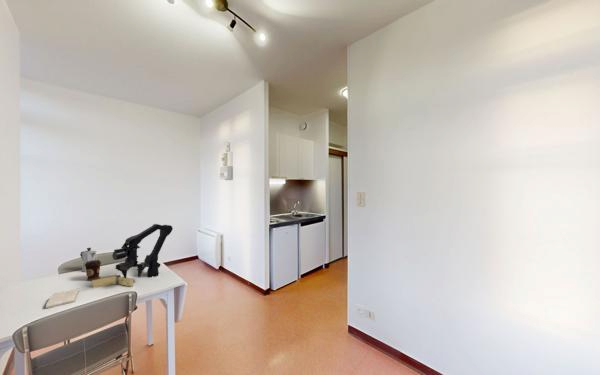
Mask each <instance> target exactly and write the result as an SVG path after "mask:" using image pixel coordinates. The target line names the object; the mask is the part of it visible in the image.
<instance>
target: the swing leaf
mask: <svg viewBox="0 0 600 375" xmlns="http://www.w3.org/2000/svg"><path fill="white" fill-rule="evenodd" d="M116 275H117V276H116V284H115V285H121V286H126V287H134V278H131V277H127V276H126V277H124V276H121V274H116Z"/></svg>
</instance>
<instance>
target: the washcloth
mask: <svg viewBox="0 0 600 375" xmlns="http://www.w3.org/2000/svg"><path fill="white" fill-rule="evenodd" d="M79 292H80V288H73V289H69V290H63V291H60V292H59V291H58V292H55V293H53V294H52V295H51V296H50V297H49V299H48V300H47V302H46V303H45V304H46V305H45V309H51V308H55V307H56V308H57V307H60V306H64V305H65V306H66V305H67V304H72V303H76V299H77V297H78V295H79Z"/></svg>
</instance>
